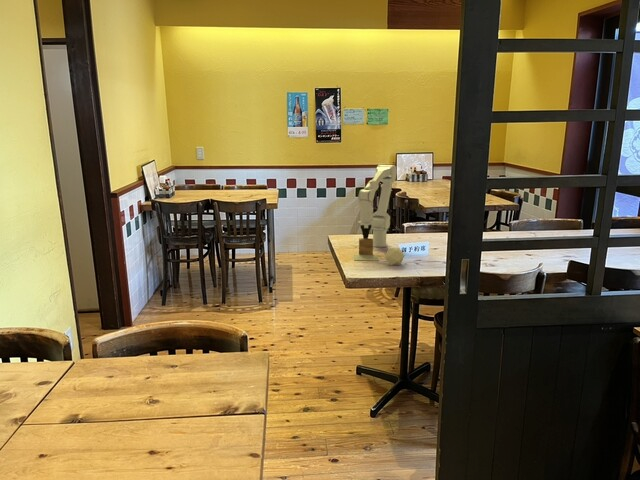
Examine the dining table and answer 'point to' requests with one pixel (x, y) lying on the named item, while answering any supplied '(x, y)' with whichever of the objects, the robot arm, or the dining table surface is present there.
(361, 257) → the mat
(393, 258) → the die
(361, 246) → the walnut block
